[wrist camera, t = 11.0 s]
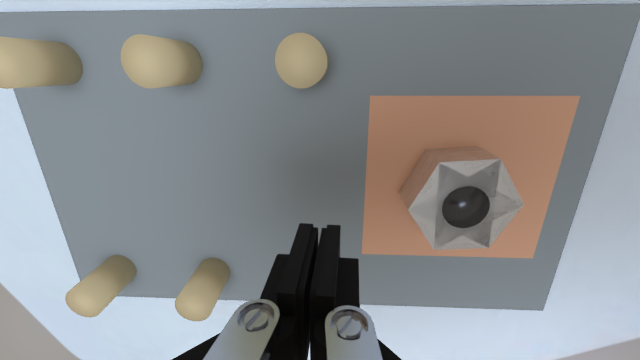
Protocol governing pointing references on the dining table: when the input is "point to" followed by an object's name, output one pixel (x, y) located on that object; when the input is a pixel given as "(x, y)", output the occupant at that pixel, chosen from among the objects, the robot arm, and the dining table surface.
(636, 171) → the dining table surface
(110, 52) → the spacer board
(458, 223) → the hex nut
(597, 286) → the dining table surface
